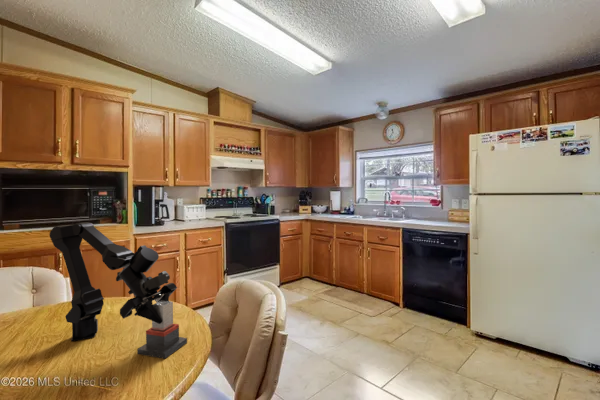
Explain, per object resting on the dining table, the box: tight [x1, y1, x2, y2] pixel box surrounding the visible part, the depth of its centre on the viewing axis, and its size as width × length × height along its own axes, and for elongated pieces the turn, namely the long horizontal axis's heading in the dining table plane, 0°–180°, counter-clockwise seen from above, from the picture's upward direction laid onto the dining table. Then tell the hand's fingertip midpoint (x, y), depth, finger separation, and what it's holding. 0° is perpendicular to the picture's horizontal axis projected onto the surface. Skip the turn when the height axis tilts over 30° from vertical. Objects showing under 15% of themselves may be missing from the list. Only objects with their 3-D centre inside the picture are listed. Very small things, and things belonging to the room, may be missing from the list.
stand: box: [136, 323, 188, 359], centre depth 94 cm, size 10×10×6 cm
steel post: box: [151, 300, 174, 332], centre depth 94 cm, size 4×4×12 cm
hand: (166, 319), depth 93 cm, fingers closed on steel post, 4 cm apart
